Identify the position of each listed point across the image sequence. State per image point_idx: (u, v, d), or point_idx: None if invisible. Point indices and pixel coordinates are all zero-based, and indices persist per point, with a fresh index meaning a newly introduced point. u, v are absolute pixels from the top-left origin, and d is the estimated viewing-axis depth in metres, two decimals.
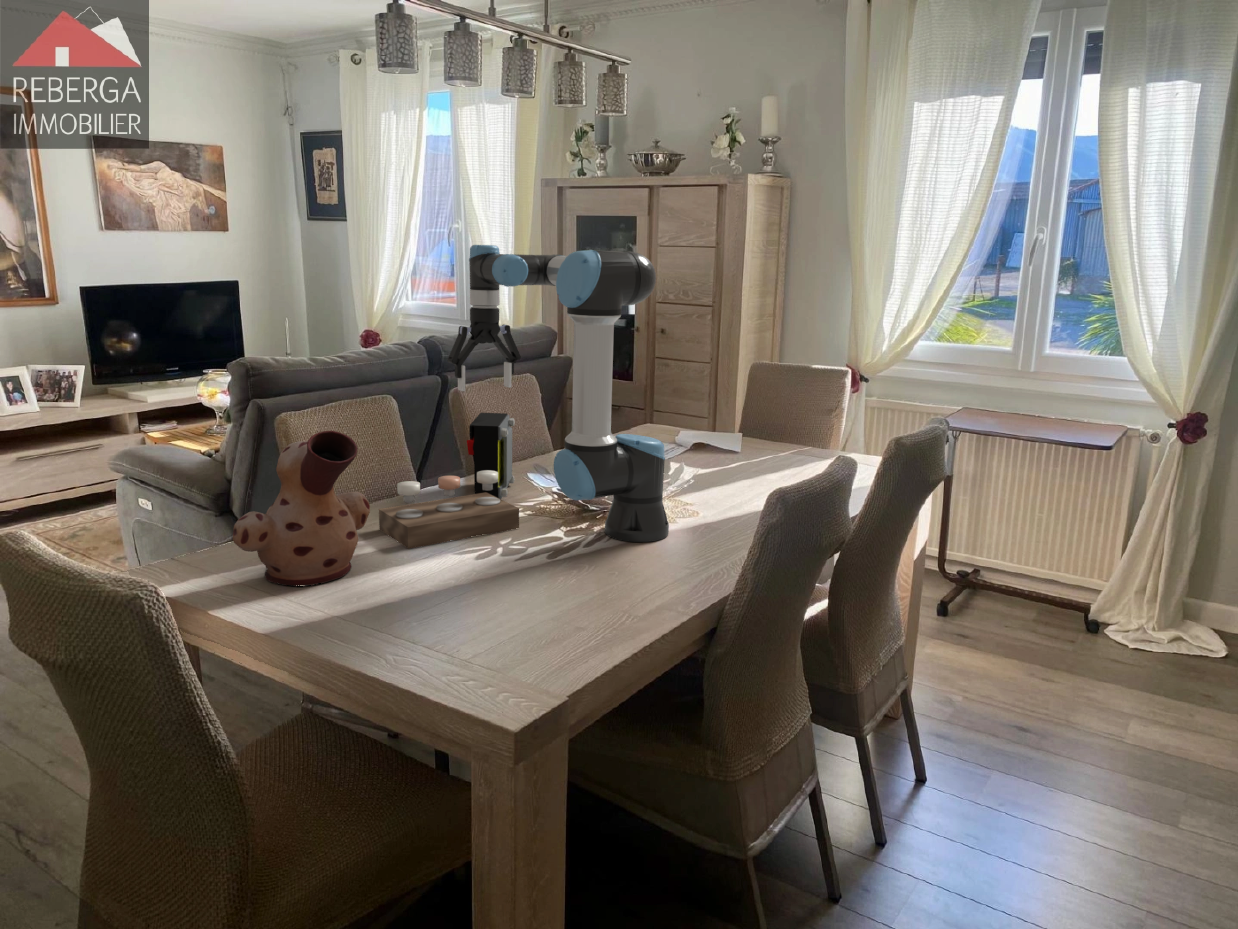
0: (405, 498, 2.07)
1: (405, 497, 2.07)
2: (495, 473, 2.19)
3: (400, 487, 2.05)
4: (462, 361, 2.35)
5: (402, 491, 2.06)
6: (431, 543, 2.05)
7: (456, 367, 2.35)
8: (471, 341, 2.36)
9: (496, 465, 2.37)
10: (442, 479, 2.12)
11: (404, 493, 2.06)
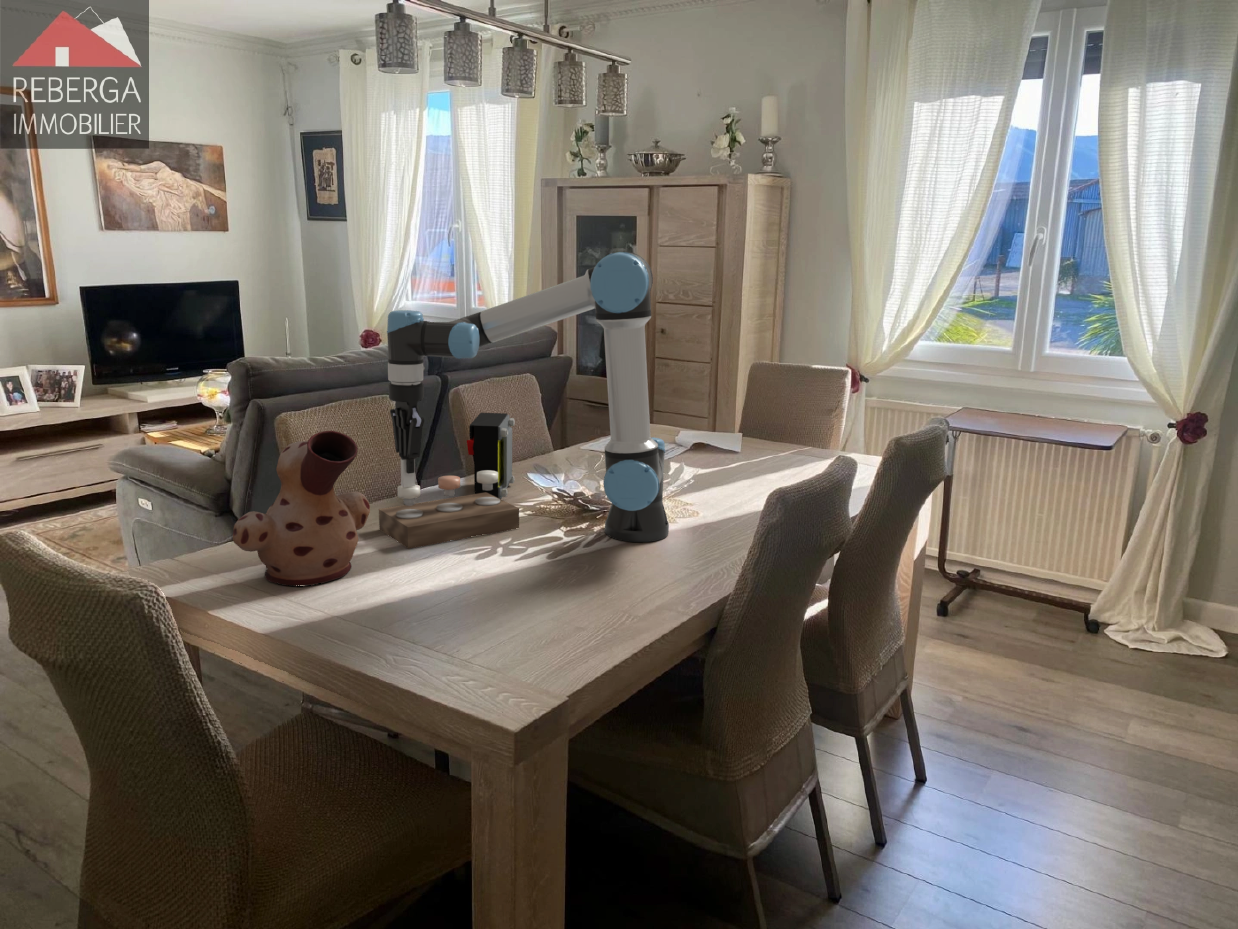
0: (405, 501, 2.07)
1: (405, 500, 2.07)
2: (495, 473, 2.19)
3: (401, 490, 2.06)
4: (400, 451, 2.06)
5: (402, 495, 2.06)
6: (431, 543, 2.05)
7: None
8: None
9: (496, 465, 2.37)
10: (442, 479, 2.12)
11: (404, 496, 2.06)
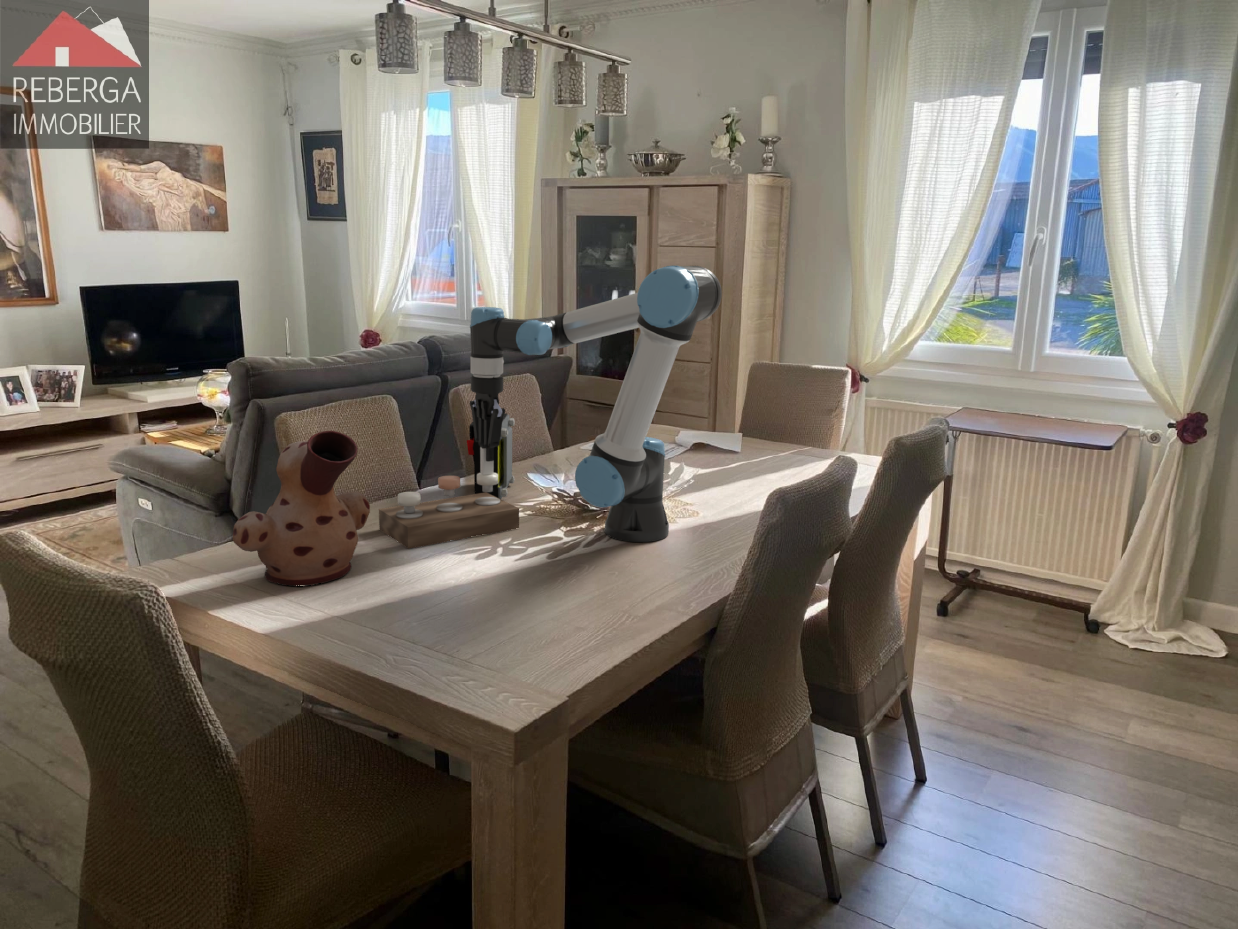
0: (405, 509, 2.08)
1: (405, 508, 2.08)
2: (495, 475, 2.19)
3: (401, 498, 2.06)
4: (480, 440, 2.18)
5: (402, 502, 2.06)
6: (431, 543, 2.05)
7: None
8: None
9: (496, 465, 2.37)
10: (442, 479, 2.12)
11: (404, 504, 2.06)
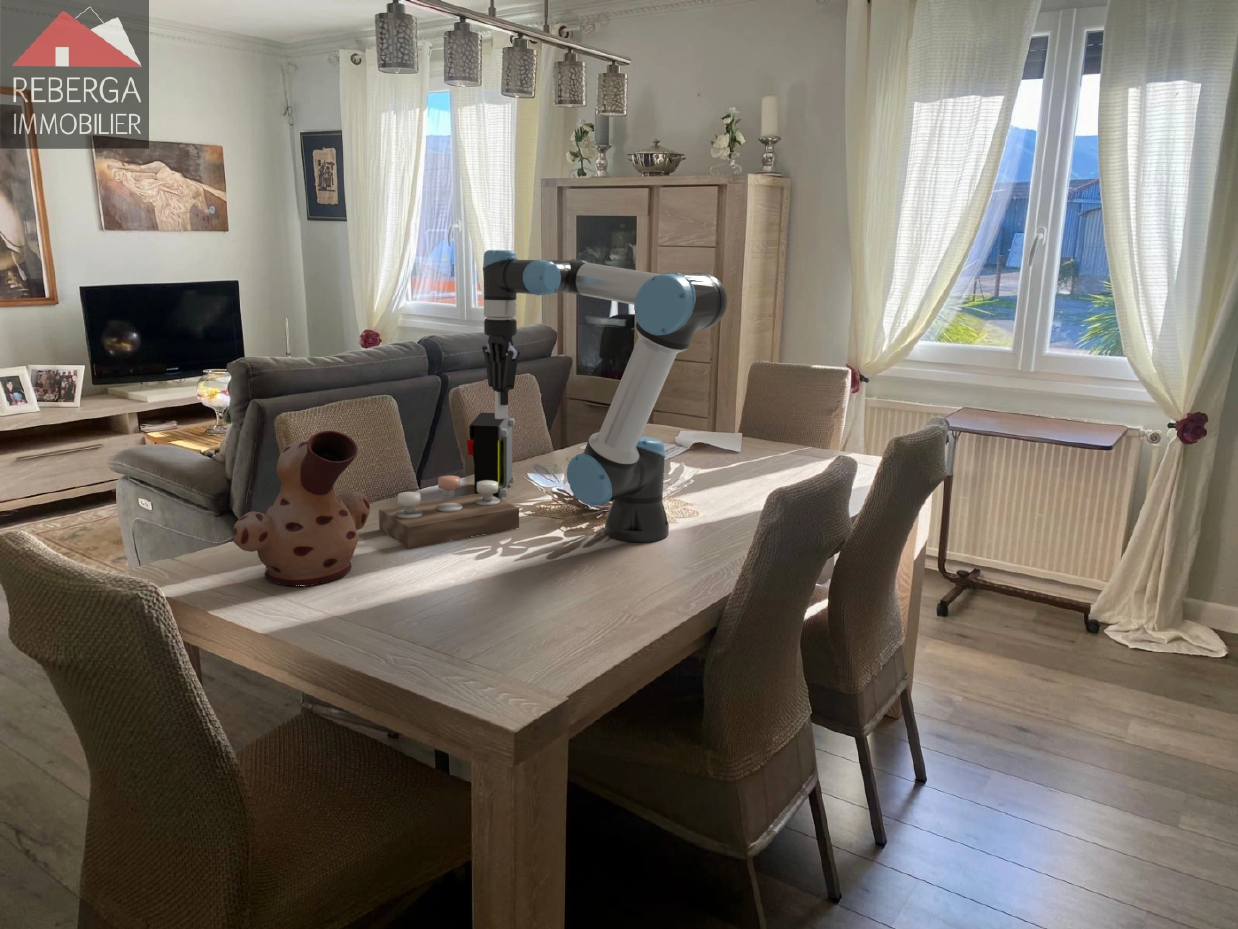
0: (405, 509, 2.08)
1: (405, 508, 2.08)
2: (495, 483, 2.20)
3: (401, 498, 2.06)
4: (494, 384, 2.18)
5: (402, 502, 2.06)
6: (431, 543, 2.05)
7: None
8: None
9: (496, 465, 2.37)
10: (442, 479, 2.12)
11: (404, 504, 2.06)
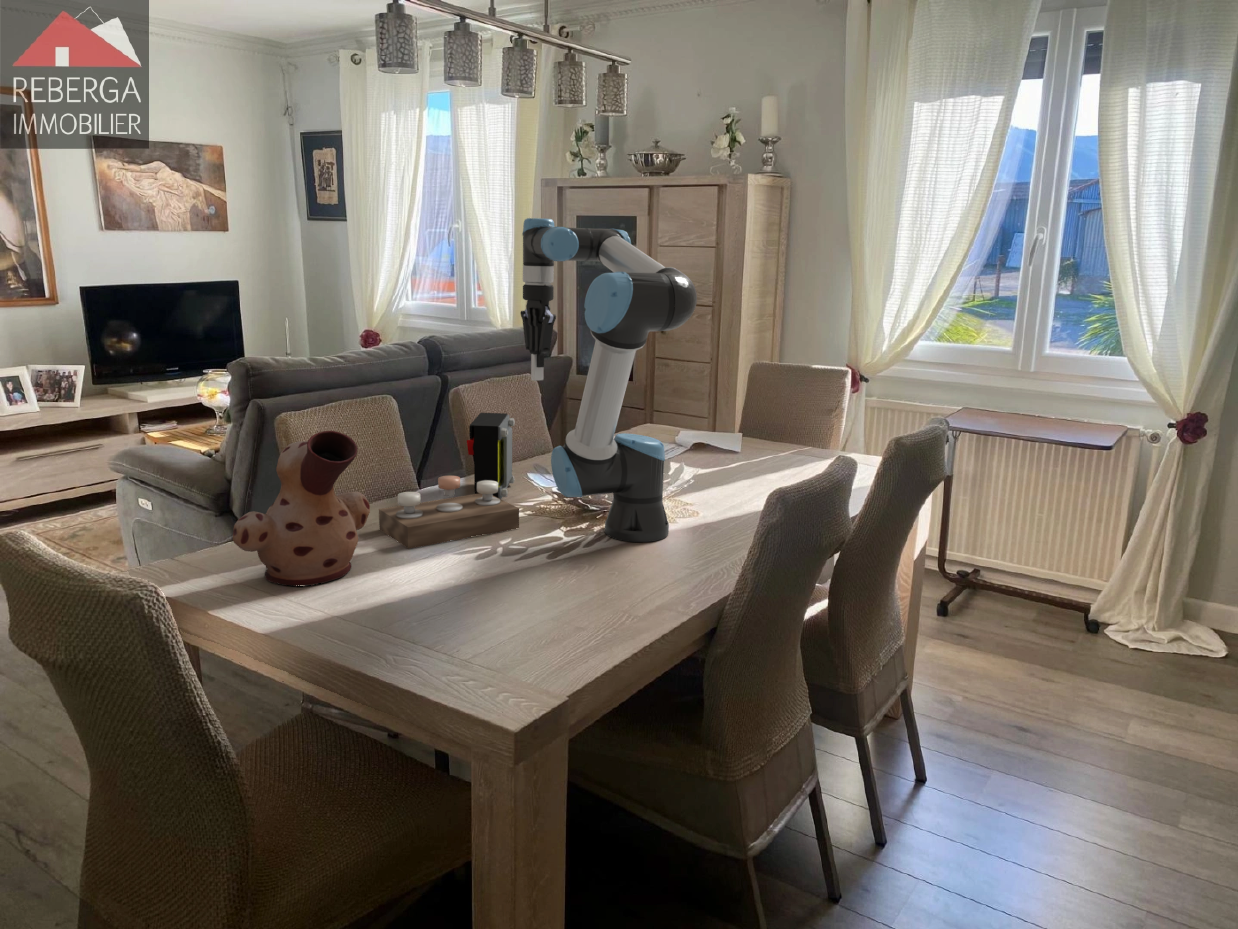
0: (405, 509, 2.08)
1: (405, 508, 2.08)
2: (495, 483, 2.20)
3: (401, 498, 2.06)
4: (531, 347, 2.29)
5: (402, 502, 2.06)
6: (431, 543, 2.05)
7: None
8: None
9: (496, 465, 2.37)
10: (442, 479, 2.12)
11: (404, 504, 2.06)
